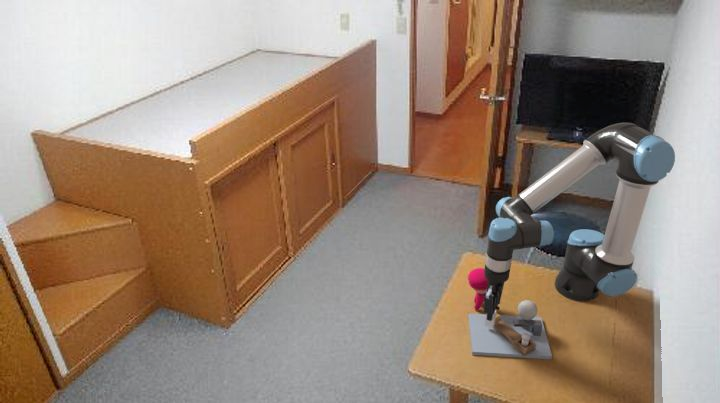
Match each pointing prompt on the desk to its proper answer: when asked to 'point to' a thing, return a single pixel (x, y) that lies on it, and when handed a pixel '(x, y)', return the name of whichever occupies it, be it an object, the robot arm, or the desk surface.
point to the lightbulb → (527, 310)
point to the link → (513, 336)
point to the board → (504, 339)
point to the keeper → (530, 325)
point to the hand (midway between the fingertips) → (489, 325)
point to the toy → (478, 286)
